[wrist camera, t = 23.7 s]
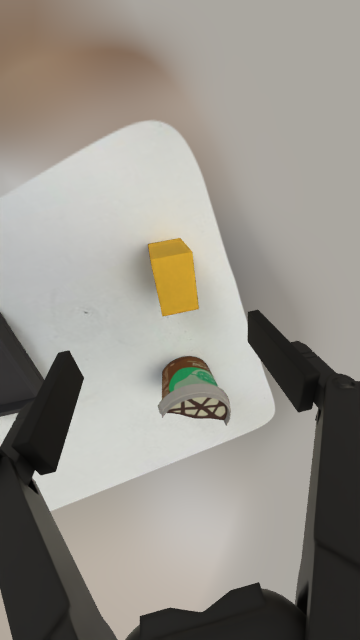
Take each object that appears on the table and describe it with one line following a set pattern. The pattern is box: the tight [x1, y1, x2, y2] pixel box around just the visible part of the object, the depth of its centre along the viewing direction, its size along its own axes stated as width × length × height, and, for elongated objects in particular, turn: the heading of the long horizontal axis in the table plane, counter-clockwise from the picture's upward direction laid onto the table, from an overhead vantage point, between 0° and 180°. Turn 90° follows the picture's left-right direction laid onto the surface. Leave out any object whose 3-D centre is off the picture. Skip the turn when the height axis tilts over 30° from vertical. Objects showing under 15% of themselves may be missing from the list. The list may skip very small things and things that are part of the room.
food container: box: [158, 356, 231, 426], centre depth 37 cm, size 12×6×10 cm, turn 68°
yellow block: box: [148, 238, 199, 316], centre depth 28 cm, size 7×4×8 cm, turn 8°
